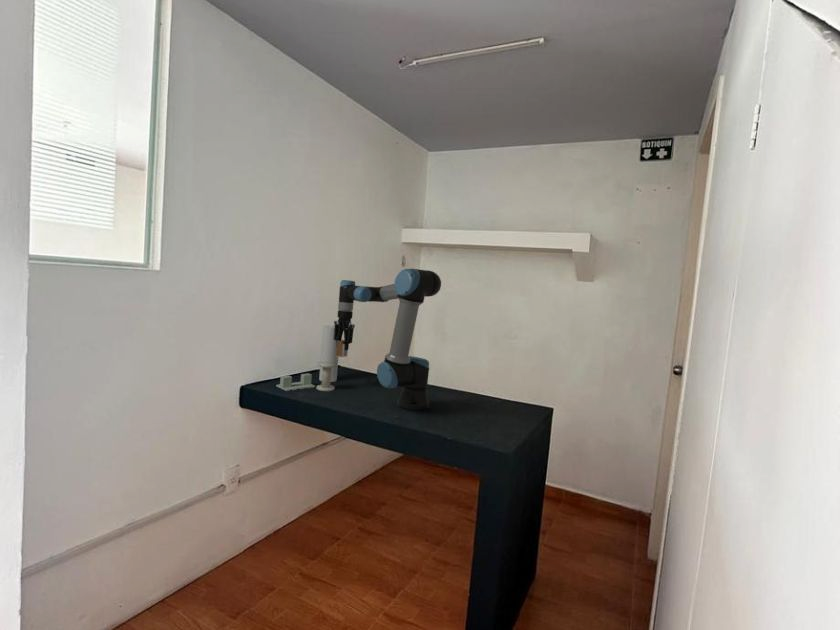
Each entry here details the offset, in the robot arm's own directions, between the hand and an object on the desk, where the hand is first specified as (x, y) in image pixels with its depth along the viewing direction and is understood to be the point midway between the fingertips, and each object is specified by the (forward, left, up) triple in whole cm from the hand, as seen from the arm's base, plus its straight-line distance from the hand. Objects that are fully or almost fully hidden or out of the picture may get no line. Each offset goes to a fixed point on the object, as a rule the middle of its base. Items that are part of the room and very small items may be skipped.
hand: (341, 355), depth 231 cm
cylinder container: (+16, -4, -17) cm, 24 cm away
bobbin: (+1, +8, -17) cm, 19 cm away
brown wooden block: (0, 0, 0) cm, 0 cm away
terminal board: (+11, +19, -17) cm, 28 cm away
